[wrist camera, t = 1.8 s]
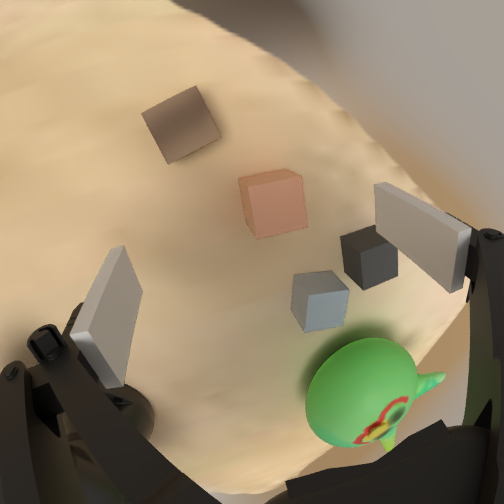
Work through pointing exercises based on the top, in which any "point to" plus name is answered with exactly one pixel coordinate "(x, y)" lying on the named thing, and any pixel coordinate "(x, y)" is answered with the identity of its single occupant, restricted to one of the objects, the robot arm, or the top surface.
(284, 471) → the top surface
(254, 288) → the top surface
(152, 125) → the walnut cube
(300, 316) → the slate grey cube
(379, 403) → the toy bird
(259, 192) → the terracotta cube
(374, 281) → the black rubber cube
